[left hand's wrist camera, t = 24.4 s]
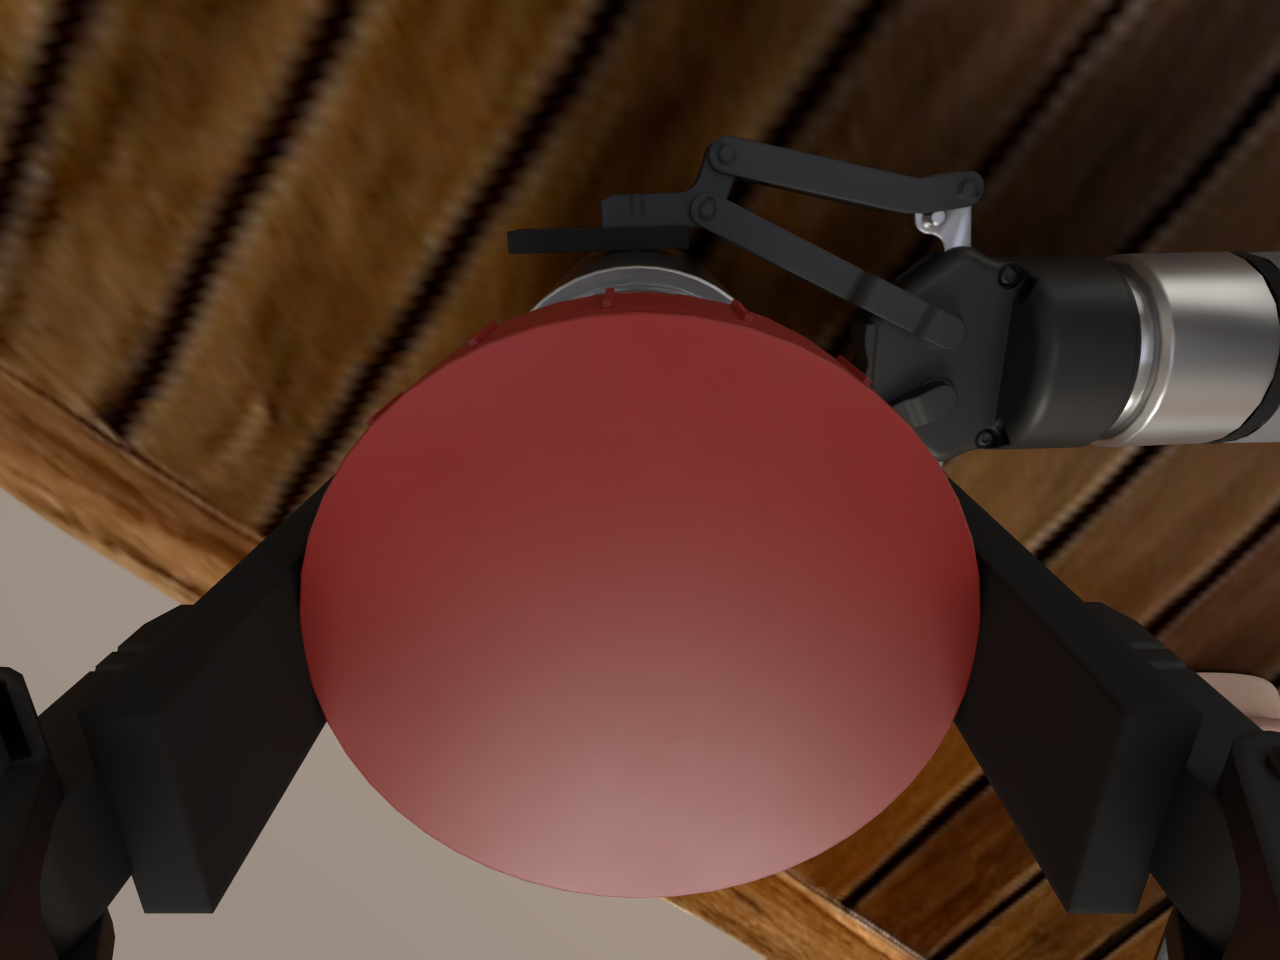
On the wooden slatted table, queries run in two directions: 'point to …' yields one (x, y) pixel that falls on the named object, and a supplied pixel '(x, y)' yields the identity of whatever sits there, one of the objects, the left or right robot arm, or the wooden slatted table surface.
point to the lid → (640, 598)
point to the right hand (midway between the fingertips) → (525, 368)
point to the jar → (637, 276)
